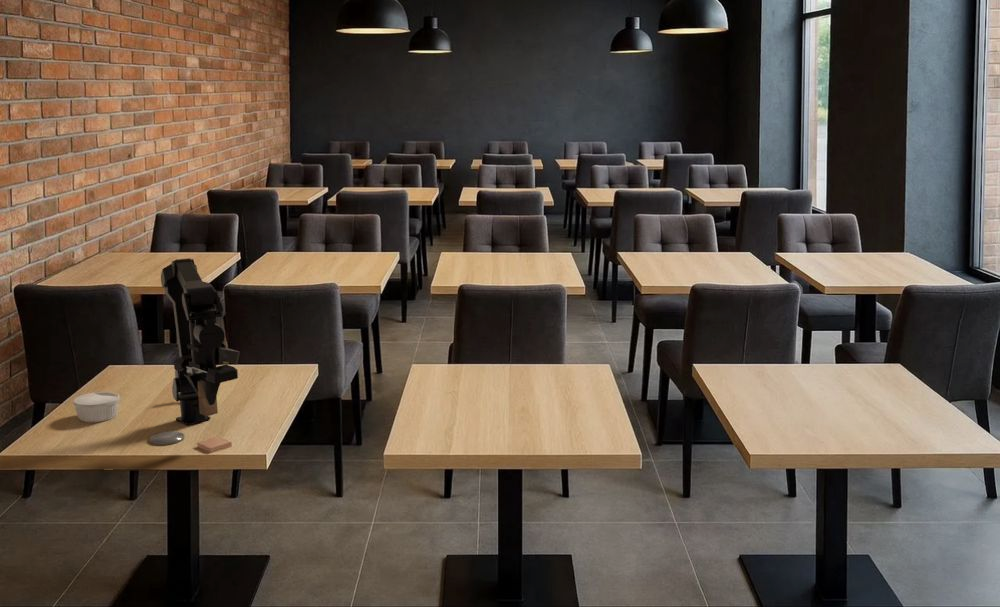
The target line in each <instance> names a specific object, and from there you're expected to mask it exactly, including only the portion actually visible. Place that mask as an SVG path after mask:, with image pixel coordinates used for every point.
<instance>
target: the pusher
mask: <svg viewBox="0 0 1000 607" xmlns="http://www.w3.org/2000/svg"><path fill="white" fill-rule="evenodd" d="M197 385H198V398H199V410H200V414H202V415H204V416H209V417H211V416H213V415H216V414H217V415H218V413H219V412H218V410H219V409H218V399H217V396H216V400H215V403H214V404H213V405H209V402H208V400H207V398H206V395H205V392H204V390H203V387H202V384H201V382H200V381H197Z"/></svg>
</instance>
